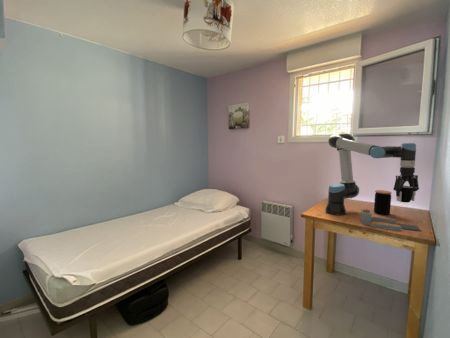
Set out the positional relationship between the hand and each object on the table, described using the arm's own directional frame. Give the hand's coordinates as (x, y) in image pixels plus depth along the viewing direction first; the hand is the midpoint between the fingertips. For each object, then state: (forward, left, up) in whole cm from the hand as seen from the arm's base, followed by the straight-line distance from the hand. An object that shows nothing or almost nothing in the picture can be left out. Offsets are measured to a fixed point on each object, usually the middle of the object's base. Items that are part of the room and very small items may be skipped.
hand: (405, 200), depth 149 cm
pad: (+4, +1, -18) cm, 19 cm away
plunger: (-22, 0, -14) cm, 26 cm away
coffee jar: (-8, +29, -19) cm, 36 cm away
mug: (-1, 0, -1) cm, 1 cm away
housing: (-13, 0, -18) cm, 23 cm away
